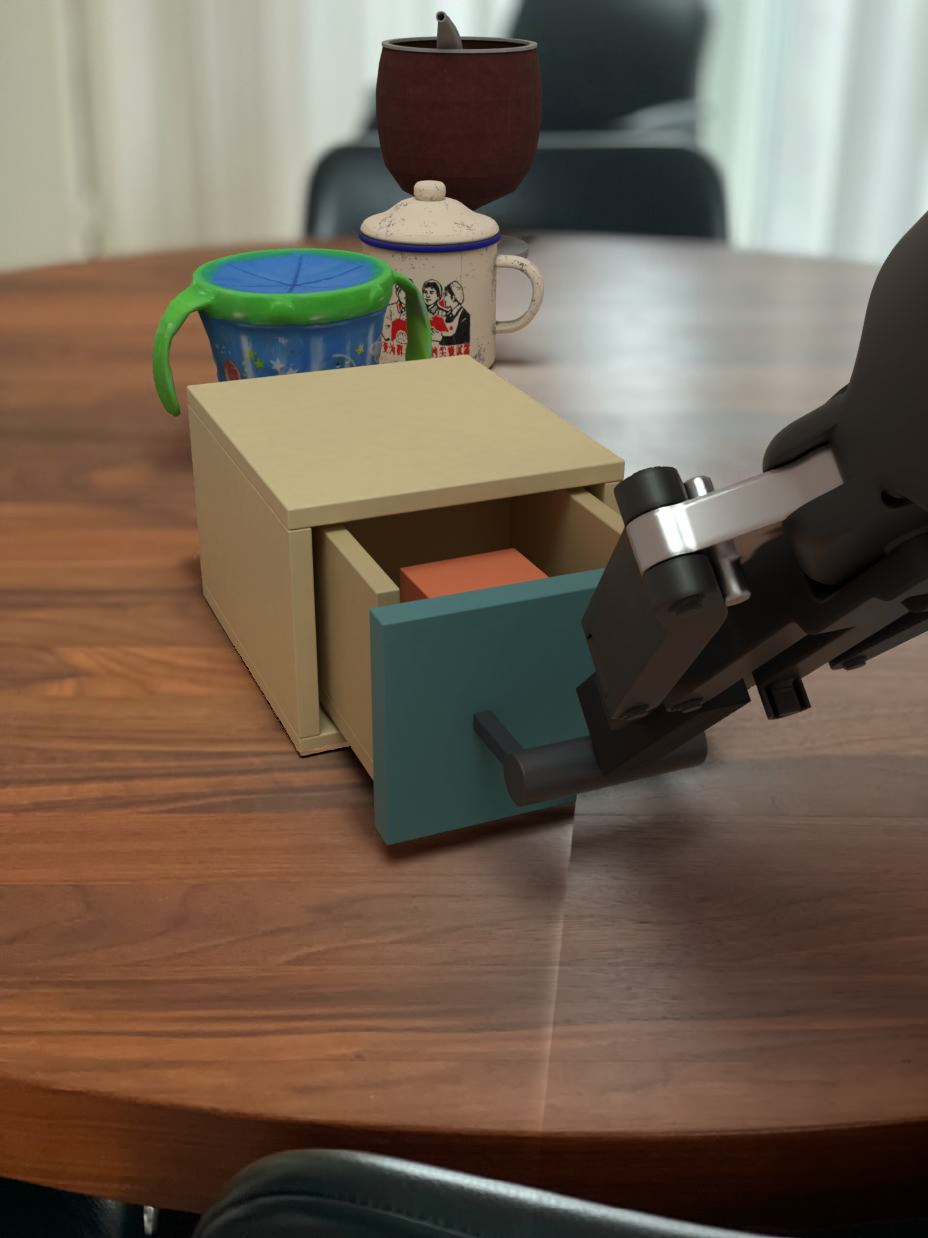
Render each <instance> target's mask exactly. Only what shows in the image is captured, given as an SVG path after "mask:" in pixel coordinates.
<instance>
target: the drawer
mask: <svg viewBox="0 0 928 1238" xmlns="http://www.w3.org/2000/svg"><path fill="white" fill-rule="evenodd" d="M624 527H625V526H624V523H623V520H622V517H621V516H620V515H619V514H618V513H616V512H615V511H613V510H612V509H611V508H609V507H608V506H607V505H605V504H604V503H603V502H601V501H600V500H599V499H597V498H596V497H595V496H593V495H592V494H591V493H589V492H588V491H587V490H585V489H584V488H582V487H574V488H568V489H561V490H554V491H548V492H541V493H534V494H528V495H521V496H514V497H508V498H501V499H494V500H488V501H481V502H474V503H468V504H461V505H454V506H448V507H441V508H434V509H428V510H421V511H415V512H408V513H401V514H395V515H388V516H381V517H375V518H368V519H361V520H355V521H348V522H341V523H335V524H328V525H321V526H315V527H310V528H311V532H312V555H313V578H314V601H315V624H316V647H317V670H318V693H319V700H320V701H321V703H322V704H323V706H324V707H325V709H326V710H327V712H328V713H329V715H330V716H331V718H332V719H333V721H334V722H335V724H336V725H337V727H338V728H339V730H340V731H341V733H342V734H343V736H344V737H345V739H346V740H347V742H348V743H349V745H350V746H351V747H350V748H351V750H352V751H353V752H354V754H355V756H356V757H357V759H358V760H359V762H360V763H361V765H362V766H363V768H364V769H365V770H366V772H367V774H368V775H369V777H370V779H372V781H373V812H374V815H373V816H374V827H375V829H376V830H377V832H378V834H379V835H380V837H381V838H382V840H383V841H384V843H385V844H386V846H391V845H396V844H399V843H404V842H408V841H409V842H410V841H413V840H416V839H420V838H425V837H429V836H434V835H437V834H439V835H440V834H442V833H446V832H451V831H455V830H459V829H463V828H467V827H468V828H469V827H472V826H477V825H481V824H486V823H489V822H494V821H497V820H502V819H506V818H510V817H515V816H519V815H523V814H527V813H532V812H536V811H540V810H544V809H548V808H553V807H557V806H561V805H565V804H571V803H574V802H577V798H578V797H577V796H578V795H580V794H583V793H588V792H592V791H596V790H600V789H604V788H609V787H614V786H618V785H622V784H626V783H631V782H634V781H640V780H644V779H648V778H652V777H657V776H660V775H665V774H669V773H673V772H677V771H681V770H682V771H683V770H686V769H690V768H696V767H699V766H701V765H703V764H704V763H705V761H706V759H707V756H708V740H707V736H706V732H705V731H703V732H702V733H700V734H699V735H697V736H696V737H694V738H692V739H691V740H689V741H688V742H686V743H684V744H683V745H681V746H680V747H678V748H677V749H675V750H673V751H672V752H670V753H669V754H667V755H666V756H664V757H662V758H661V759H659V760H658V761H656V762H654V763H653V764H651V765H650V766H648V767H643V768H639V769H635V770H631V771H626V772H622V773H618V774H613V775H609V776H605V777H603V775H602V772H601V769H600V765H599V762H598V759H597V756H596V753H595V749H594V746H593V743H592V740H591V736H590V733H589V730H588V727H587V724H586V720H585V717H584V714H583V711H582V708H581V704H580V701H579V698H578V695H577V692H576V688H577V687H578V686H579V685H580V684H582V683H583V682H584V681H585V680H586V679H587V678H589V677H590V676H591V675H592V674H593V673H594V672H596V669H595V666H594V663H593V660H592V656H591V653H590V650H589V647H588V644H587V640H586V637H585V633H584V630H583V627H582V624H581V620H582V618H583V616H584V613H585V611H586V609H587V607H588V605H589V603H590V600H591V598H592V596H593V594H594V592H595V590H596V587H597V585H598V583H599V581H600V579H601V577H602V574H603V572H604V570H605V568H606V566H607V564H608V561H609V559H610V557H611V555H612V553H613V551H614V548H615V546H616V544H617V542H618V540H619V538H620V535H621V533H622V531H623V529H624ZM511 548H515V549H516V550H517V551H518V552H519V553H521V554H522V555H523V556H524V557H525V558H527V559H528V560H529V561H530V562H531V563H533V564H534V565H535V566H536V567H537V568H539V569H540V570H541V571H542V572H543V573H545V574H546V575H547V576H548V577H549V578H543V579H538V580H532V581H526V582H520V583H514V584H509V585H503V586H497V587H491V588H486V589H480V590H474V591H468V592H463V593H457V594H451V595H445V596H440V597H434V598H428V599H422V600H416V601H411V602H405V603H400V568H403V567H409V566H414V565H420V564H426V563H431V562H437V561H443V560H448V559H454V558H460V557H465V556H471V555H477V554H482V553H488V552H494V551H499V550H505V549H511Z"/></svg>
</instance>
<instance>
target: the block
mask: <svg viewBox="0 0 928 1238" xmlns="http://www.w3.org/2000/svg"><path fill="white" fill-rule="evenodd" d="M543 578H549V577H548V576H547V575H546V574H545V573H543V572H542V571H541V570H540V569H539V568H537V567H536V566H535V565H534V564H533V563H531V562H530V561H529V560H528V559H527V558H525V557H524V556H523V555H522V554H521V553H519V552H518V551H517V550H516V549H515V548H511V549H505V550H499V551H494V552H488V553H482V554H477V555H471V556H465V557H460V558H454V559H448V560H443V561H437V562H431V563H426V564H420V565H414V566H409V567H403V568H400V603H405V602H411V601H416V600H422V599H428V598H434V597H440V596H445V595H451V594H457V593H463V592H468V591H474V590H480V589H486V588H491V587H497V586H503V585H509V584H514V583H520V582H526V581H532V580H538V579H543Z"/></svg>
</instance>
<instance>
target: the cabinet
mask: <svg viewBox="0 0 928 1238" xmlns="http://www.w3.org/2000/svg"><path fill="white" fill-rule="evenodd" d="M186 399H187V403H188V404H187V413H188V424H189V425H188V426H189V427H188V428H189V440H190V447H191V448H190V449H191V452H190V453H191V461H192V462H191V463H192V474H193V487H194V496H195V497H194V499H195V500H194V501H195V511H196V512H195V513H196V524H197V538H198V550H199V563H200V572H201V574H200V575H201V580H202V581H201V583H202V585H201V586H202V596H203V597H204V598H205V600H206V602H207V604H208V605H209V607H210V608H211V610H212V612H213V613H214V615H215V617H216V618H217V621H218V622H219V623H220V625H221V627H222V628H223V630H224V632H225V633H226V635H227V637H228V638H229V640H230V642H231V643H232V645H233V647H234V646H235V647H234V648H235V650H236V649H237V650H236V652H237V651H238V652H237V654H238V653H239V654H240V655H239V654H238V655H239V657H240V656H241V657H242V659H243V660H242V659H241V660H242V661H244V662H245V664H246V665H245V664H244V665H245V667H246V666H247V667H248V668H249V670H248V672H249V671H250V672H251V673H252V675H253V677H254V678H255V679H256V682H257V683H258V685H259V686H260V688H261V690H262V691H263V693H264V694H265V696H266V699H267V700H268V701H269V703H270V704H271V706H272V708H273V709H274V710H275V712H276V714H277V716H278V717H279V719H280V720H281V722H282V724H283V725H284V727H285V728H286V730H287V732H288V734H289V736H290V737H291V739H292V741H293V742H294V744H295V745H296V747H297V749H298V750H299V752H303V751H309V750H310V749H314V748H321V747H323V746H325V745H333V744H337V743H343V742H347V740H346V739H345V737H344V736H343V734H342V733H341V731H340V730H339V728H338V727H337V725H336V724H335V722H334V721H333V719H332V718H331V716H330V715H329V713H328V712H327V710H326V709H325V707H324V706H323V704H322V703H321V701H320V700H319V693H318V670H317V647H316V624H315V601H314V578H313V555H312V532H311V528H310V527H315V526H321V525H328V524H335V523H341V522H348V521H355V520H361V519H368V518H375V517H381V516H388V515H395V514H401V513H408V512H415V511H421V510H428V509H434V508H441V507H448V506H454V505H461V504H468V503H474V502H481V501H488V500H494V499H501V498H508V497H514V496H521V495H528V494H534V493H541V492H548V491H554V490H561V489H568V488H574V487H582V488H584V489H585V490H587V491H588V492H589V493H591V494H592V495H593V496H595V497H596V498H597V499H599V500H600V501H601V502H603V503H604V504H605V505H607V506H608V507H609V508H611V509H612V510H613V511H615V512H616V513H618V514H619V515H620V516H621V514H620V511H619V508H618V505H617V502H616V499H615V496H614V488H615V487H616V486H617V484H618V483H620V482H621V481H623V480H624V479H625V466H626V461H625V459H623V458H622V457H621V456H619V455H617V454H616V453H614V451H612V450H610V449H609V448H607V447H606V446H604V445H602V444H601V443H600V442H598V441H597V440H595V439H594V438H592V437H591V436H589V435H588V434H586V433H585V432H583V431H582V430H580V429H578V427H576V426H574V425H573V424H571V423H570V422H569V421H567V420H565V419H564V418H562V417H561V416H560V415H558V414H557V413H555V412H554V411H552V410H551V409H549V408H548V407H546V406H545V405H543V404H542V403H540V402H539V401H538V400H535V398H533V397H531V396H530V395H528V394H527V393H525V392H524V391H522V390H521V389H519V388H518V387H517V386H515V385H513V384H512V383H510V382H509V381H507V380H506V379H505V378H503V377H502V376H500V375H499V374H498V373H495V372H494V371H493V370H492V369H490V368H487V367H485V366H484V365H482V364H481V363H479V362H478V361H476V360H475V359H473V358H472V357H470V356H469V355H459V356H450V357H441V358H432V359H423V360H414V361H405V362H396V363H387V364H378V365H369V366H360V367H351V368H342V369H333V370H324V371H315V372H306V373H297V374H288V375H279V376H270V377H261V378H252V379H243V380H234V381H225V382H219V381H215V382H208V383H199V384H189V385H187V386H186ZM241 657H240V658H241ZM244 662H243V663H244ZM247 667H246V668H247ZM250 672H249V673H250ZM252 675H251V676H252ZM253 677H252V678H253ZM256 682H255V683H256ZM258 685H257V686H258ZM261 690H260V691H261ZM266 699H265V700H266ZM267 700H266V701H267Z"/></svg>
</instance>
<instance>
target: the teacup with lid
mask: <svg viewBox="0 0 928 1238" xmlns="http://www.w3.org/2000/svg"><path fill="white" fill-rule="evenodd" d="M445 194H446V188H445V185H444V184H443V183H442V182H440V181H430V180H428V181H419V182H417V183H416V184H415V186H414V195H415V196H412V197H408V198H405V199H402V200H400V201H398V202H397V203H396V204H394V205H393V206H392V207H390V208H388V209H387V210H385V211H383V212H379V213H375V214H373V215H370V216H369V217H367V218H365V219H364V220H363V221H362V223H361V225H360V230H359V231H358V238H359V240H360V241H361V243H362V254H367V255H370V256H373V257H376V258H378V259H381V260H383V261H384V262H386V263H387V264H388V265H389V266H390V267H391V269H392V270H393V271H395V272H397V273H400V274H401V275H403V276H405V277H407V278H408V279H409V280H411V281H412V282H413V283H414V284H415V285H416V287H417V288H418V290H419V291H420V293H421V295H422V296H423V299H424V302H425V305H426V308H427V311H428V315H429V321H430V326H431V334H432V356H431V359H432V358H441V357H450V356H459V355H469V356H470V357H472V358H473V359H475V360H476V361H478V362H479V363H481V364H482V365H484V366H485V367H487V368H488V369H490V368H491V366H493V364H494V362H495V359H496V335H505V334H513V333H517V332H518V331H521V330H523V329H524V328H526V327H527V326H528V325H530V324H531V322H532V321H533V320H534V319H535V318H536V316H537V315H538V313H539V311H540V308H541V306H542V303H543V300H544V296H545V281H544V277H543V274H542V272H541V271H540V269H539V268H538V267H537V266H536V265H535V264H534V263H533V262H532V261H530V260H529V259H527V258H523V257H520V256H514V255H497V242H498V241H499V240H500V238H501V234H502V232H501V231H500V227H499V225H498V223H497V222H496V220H495V219H493V218H492V217H490V216H488V215H486V214H483V213H479V212H475V211H474V212H473V211H472V210H470V209H469V208H467V207H466V206H465V205H463V204H462V203H461V202H459V201H457V200H454V199H451V198H447V197H444V196H445ZM498 268H499V269H501V268H502V269H503V268H506V269H515V270H517V271H520V272H522V273H523V274H524V275H526V277H527V278H528V279H529V281H530V283H531V287H532V288H531V289H532V292H531V293H532V295H531V300H530V304H529V306H528V307H527V310H526V311H525V312H524V313H523V314H522V315H520V316H519V317H517V318H515V319H511V320H497V277H498V276H497V275H498V274H497V271H498ZM381 340H382V346H381V353H380V358H379V364H387V363H396V362H405V352H406V346H407V342H408V340H407V324H406V304H405V292H404V291H403V290H402V289H401V288H400V287H399V286H398V285H397V284H396V283H395V284H394V285H393V293H392V297H391V300H390V302H389V304H388V307H387V310H386V313H385V317H384V323H383V331H382V338H381Z"/></svg>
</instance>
